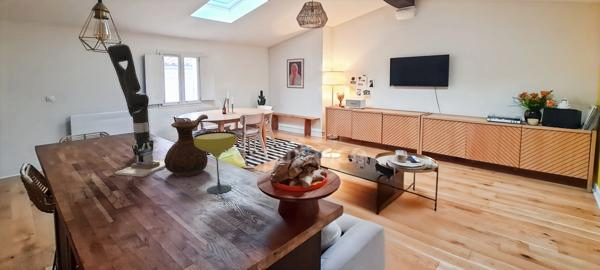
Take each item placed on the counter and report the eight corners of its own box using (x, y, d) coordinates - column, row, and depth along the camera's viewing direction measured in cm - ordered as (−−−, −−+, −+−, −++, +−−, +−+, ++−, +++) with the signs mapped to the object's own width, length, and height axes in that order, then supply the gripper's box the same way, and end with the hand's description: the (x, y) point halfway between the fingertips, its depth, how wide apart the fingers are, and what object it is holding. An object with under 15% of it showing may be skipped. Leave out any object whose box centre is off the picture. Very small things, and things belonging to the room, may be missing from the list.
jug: (196, 180, 158) (191, 120, 152) (157, 178, 162) (150, 119, 156) (216, 167, 179) (212, 113, 173) (181, 166, 183) (176, 113, 177)
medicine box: (137, 165, 179) (135, 150, 177) (144, 163, 183) (142, 148, 181) (147, 167, 175) (145, 151, 173) (154, 164, 179) (152, 149, 177)
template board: (148, 161, 193) (147, 156, 192) (173, 163, 188) (173, 158, 187) (115, 174, 170) (114, 168, 170) (143, 176, 165) (142, 170, 165)
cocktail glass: (222, 180, 158) (219, 129, 153) (247, 187, 146) (244, 133, 141) (190, 191, 144) (184, 136, 139) (214, 200, 133) (210, 141, 128)
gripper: (145, 128, 183) (148, 157, 186) (125, 132, 169) (129, 164, 173) (156, 128, 181) (159, 157, 184) (137, 133, 167) (140, 165, 171)
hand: (145, 160), depth 178 cm, fingers open, 5 cm apart
